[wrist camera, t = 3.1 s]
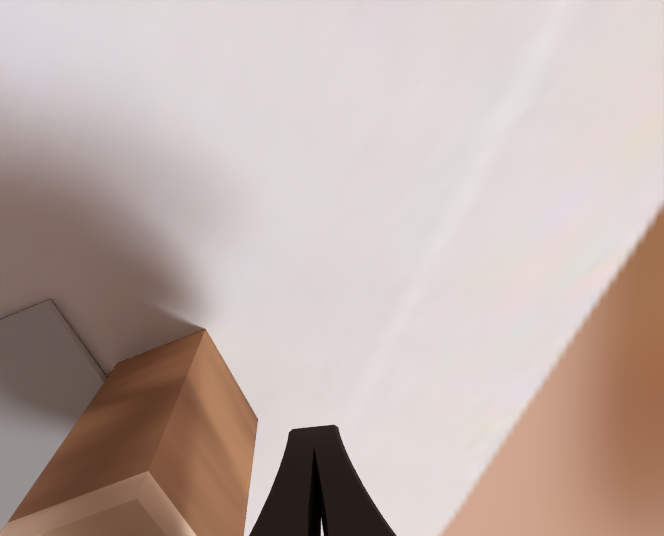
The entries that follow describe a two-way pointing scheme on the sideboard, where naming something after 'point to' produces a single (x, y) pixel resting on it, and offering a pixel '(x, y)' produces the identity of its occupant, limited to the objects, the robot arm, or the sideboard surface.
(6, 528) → the walnut block
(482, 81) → the sideboard surface
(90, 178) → the sideboard surface
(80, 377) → the slate rubber mat
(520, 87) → the sideboard surface
